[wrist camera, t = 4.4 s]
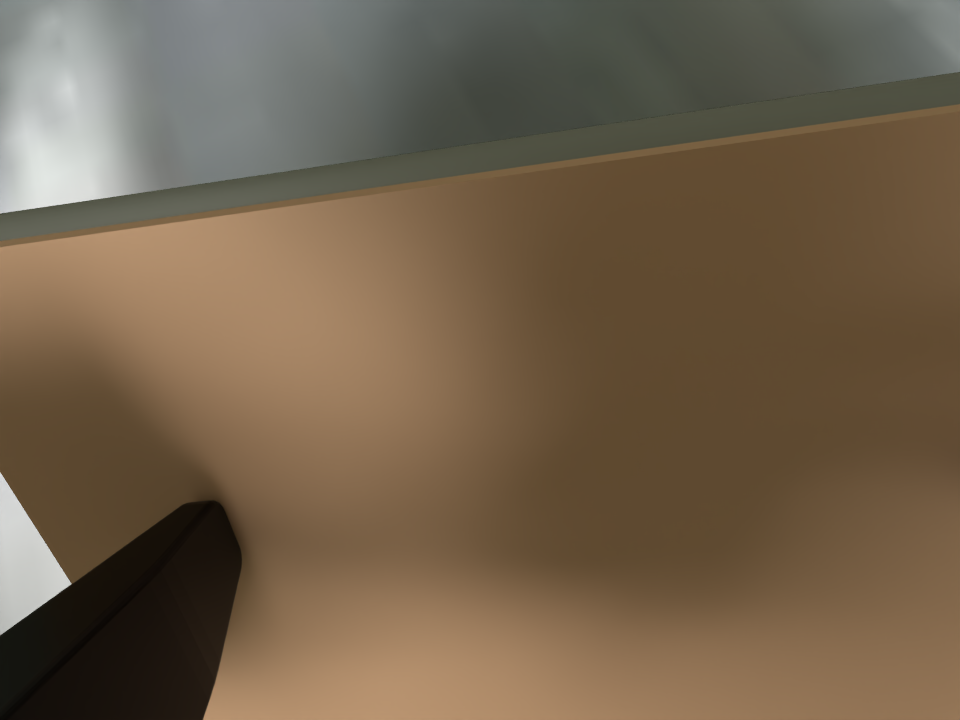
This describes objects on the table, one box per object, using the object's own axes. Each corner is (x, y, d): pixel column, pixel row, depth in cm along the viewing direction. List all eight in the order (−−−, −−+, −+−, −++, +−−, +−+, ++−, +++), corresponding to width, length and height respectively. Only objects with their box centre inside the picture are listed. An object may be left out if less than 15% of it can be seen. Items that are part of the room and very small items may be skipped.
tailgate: (1032, 888, 13) (1437, 24, 6) (275, 904, 15) (-140, 251, 8) (995, 817, 14) (1301, 6, 7) (291, 839, 16) (-62, 209, 9)
